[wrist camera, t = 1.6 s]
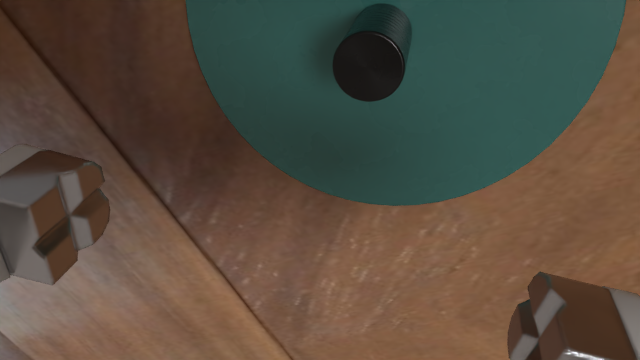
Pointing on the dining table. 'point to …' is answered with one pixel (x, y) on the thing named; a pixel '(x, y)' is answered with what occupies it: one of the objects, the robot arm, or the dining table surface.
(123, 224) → the dining table surface
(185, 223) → the dining table surface
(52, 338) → the dining table surface
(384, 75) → the lid
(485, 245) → the dining table surface
